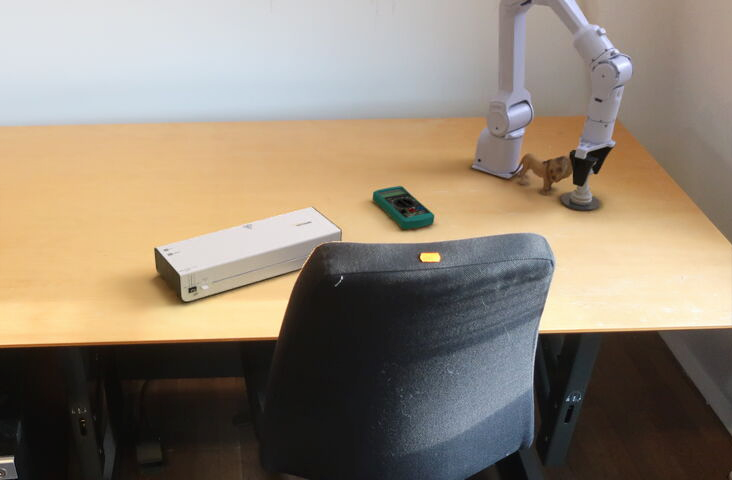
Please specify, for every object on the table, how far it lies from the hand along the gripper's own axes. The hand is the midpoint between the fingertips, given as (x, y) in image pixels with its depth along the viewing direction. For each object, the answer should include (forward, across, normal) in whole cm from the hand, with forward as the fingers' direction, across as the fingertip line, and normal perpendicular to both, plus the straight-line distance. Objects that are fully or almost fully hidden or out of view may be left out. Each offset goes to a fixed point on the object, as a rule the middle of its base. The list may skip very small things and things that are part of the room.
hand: (585, 178), depth 182 cm
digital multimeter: (+6, -29, +27) cm, 40 cm away
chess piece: (+5, 0, 0) cm, 5 cm away
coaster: (+6, 0, 0) cm, 6 cm away
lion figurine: (+6, +2, +10) cm, 12 cm away
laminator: (+6, -66, +37) cm, 76 cm away
